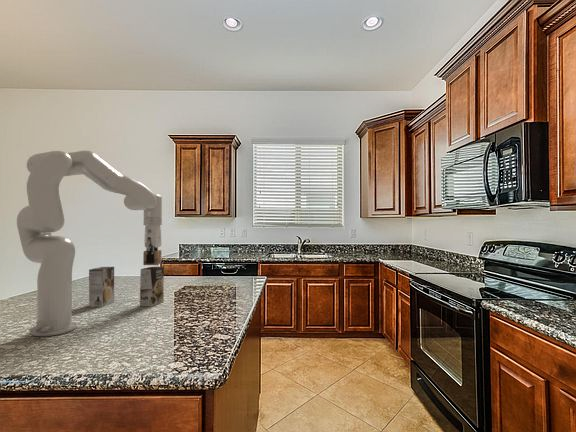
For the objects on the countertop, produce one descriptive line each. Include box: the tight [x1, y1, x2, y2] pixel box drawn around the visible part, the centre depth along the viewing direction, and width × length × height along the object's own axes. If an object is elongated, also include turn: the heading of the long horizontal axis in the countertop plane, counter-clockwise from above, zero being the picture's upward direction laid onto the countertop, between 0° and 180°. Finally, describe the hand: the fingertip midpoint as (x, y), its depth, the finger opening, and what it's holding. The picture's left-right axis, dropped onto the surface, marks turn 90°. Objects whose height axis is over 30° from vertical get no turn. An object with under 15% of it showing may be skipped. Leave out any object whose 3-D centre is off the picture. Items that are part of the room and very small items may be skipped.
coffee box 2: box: [139, 266, 165, 308], centre depth 148 cm, size 9×6×16 cm
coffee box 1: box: [88, 266, 115, 308], centre depth 148 cm, size 9×6×16 cm
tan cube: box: [142, 249, 162, 266], centre depth 148 cm, size 6×6×6 cm
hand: (152, 262), depth 148 cm, fingers closed on tan cube, 5 cm apart
